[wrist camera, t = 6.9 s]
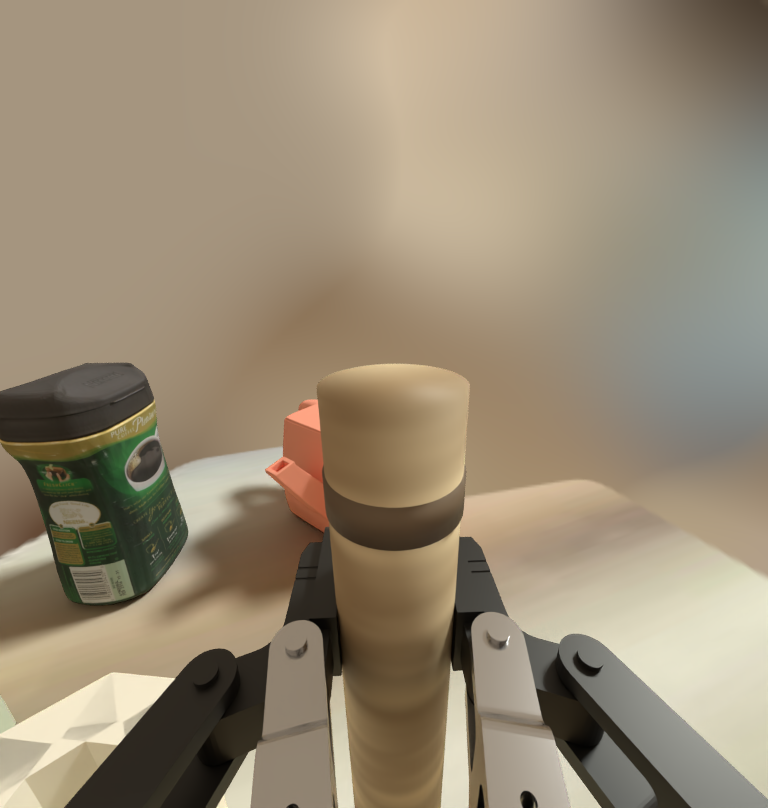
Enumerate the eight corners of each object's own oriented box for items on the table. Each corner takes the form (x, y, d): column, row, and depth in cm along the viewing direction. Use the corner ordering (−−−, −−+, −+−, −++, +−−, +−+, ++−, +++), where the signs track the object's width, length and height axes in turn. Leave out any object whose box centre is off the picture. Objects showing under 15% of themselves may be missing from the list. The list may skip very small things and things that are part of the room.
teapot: (346, 452, 53) (342, 361, 49) (485, 508, 41) (498, 392, 36) (219, 520, 39) (195, 400, 34) (374, 641, 26) (372, 476, 21)
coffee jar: (124, 531, 37) (69, 356, 31) (201, 529, 37) (162, 354, 31) (44, 614, 28) (-58, 391, 22) (146, 611, 28) (76, 389, 22)
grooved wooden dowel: (460, 800, 13) (505, 383, 7) (393, 895, 11) (382, 429, 5) (400, 719, 15) (398, 357, 10) (335, 785, 13) (286, 382, 8)
